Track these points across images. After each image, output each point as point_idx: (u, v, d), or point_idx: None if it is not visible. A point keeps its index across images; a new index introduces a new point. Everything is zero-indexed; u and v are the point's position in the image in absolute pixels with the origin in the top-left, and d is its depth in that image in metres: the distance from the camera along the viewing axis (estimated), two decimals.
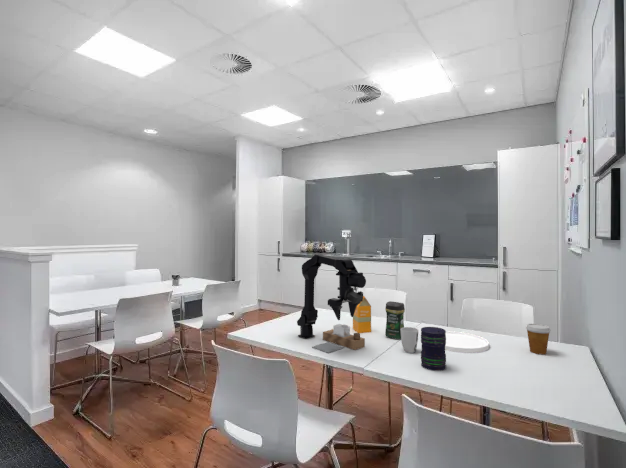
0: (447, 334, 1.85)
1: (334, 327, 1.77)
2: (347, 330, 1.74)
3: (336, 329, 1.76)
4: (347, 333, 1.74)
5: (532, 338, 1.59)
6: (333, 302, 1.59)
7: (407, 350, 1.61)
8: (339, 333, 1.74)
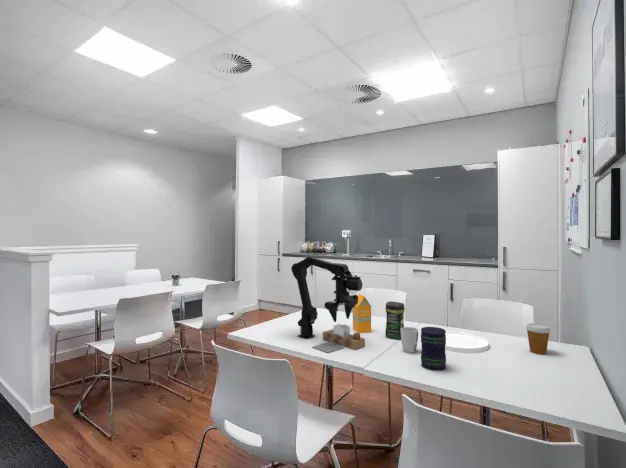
0: (447, 334, 1.85)
1: (334, 327, 1.77)
2: (347, 330, 1.74)
3: (336, 329, 1.76)
4: (347, 333, 1.74)
5: (532, 338, 1.59)
6: (330, 305, 1.69)
7: (407, 350, 1.61)
8: (339, 333, 1.74)
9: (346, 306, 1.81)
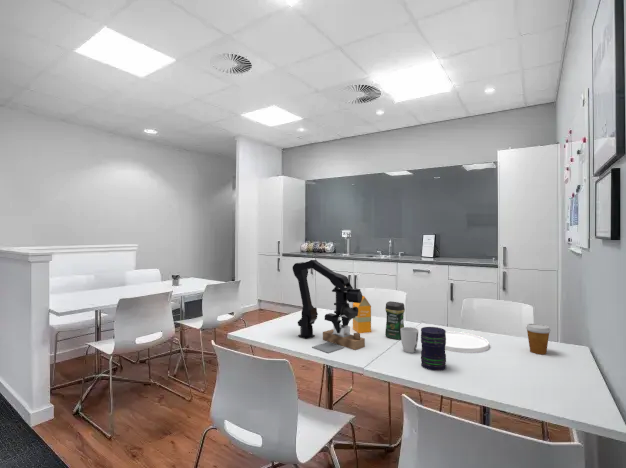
0: (447, 334, 1.85)
1: (334, 327, 1.77)
2: (347, 330, 1.74)
3: None
4: (347, 333, 1.74)
5: (532, 338, 1.59)
6: (330, 317, 1.69)
7: (407, 350, 1.61)
8: (339, 333, 1.74)
9: (343, 318, 1.79)
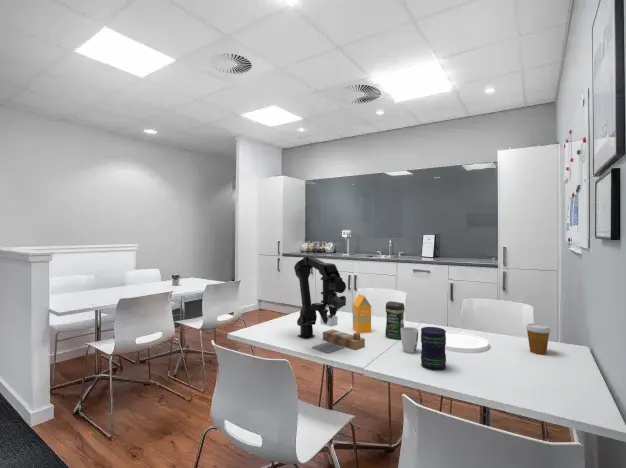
0: (447, 334, 1.85)
1: (321, 317, 1.69)
2: (334, 320, 1.67)
3: None
4: (335, 323, 1.67)
5: (532, 338, 1.59)
6: (316, 307, 1.62)
7: (407, 350, 1.61)
8: (326, 323, 1.67)
9: (331, 308, 1.72)
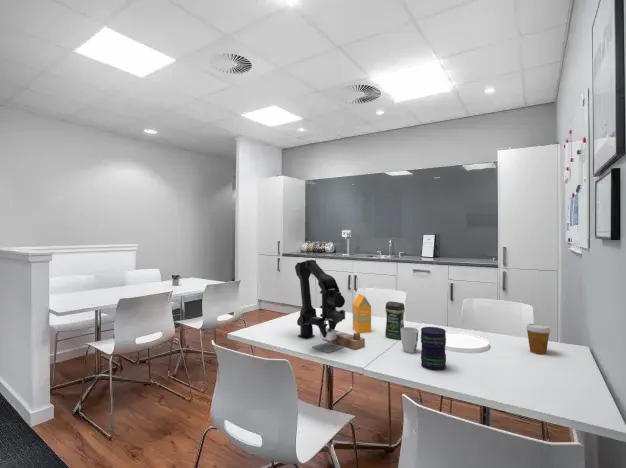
0: (447, 334, 1.85)
1: (320, 331, 1.69)
2: (334, 334, 1.66)
3: None
4: (334, 337, 1.66)
5: (532, 338, 1.59)
6: (315, 321, 1.61)
7: (407, 350, 1.61)
8: (325, 337, 1.67)
9: (330, 322, 1.71)
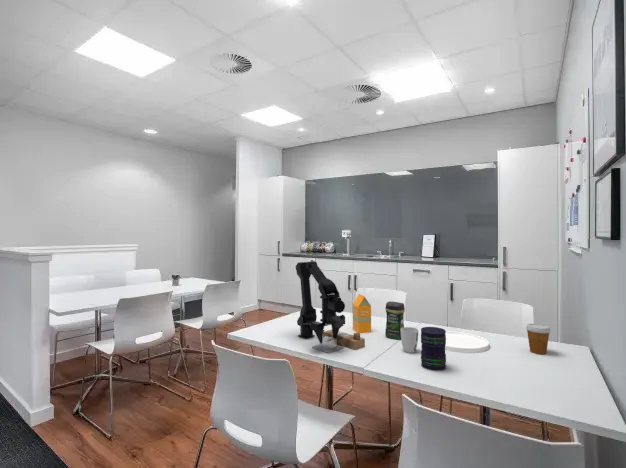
0: (447, 334, 1.85)
1: None
2: (334, 343, 1.66)
3: (322, 342, 1.68)
4: (334, 346, 1.66)
5: (532, 338, 1.59)
6: (315, 326, 1.61)
7: (407, 350, 1.61)
8: (325, 346, 1.67)
9: (333, 326, 1.73)
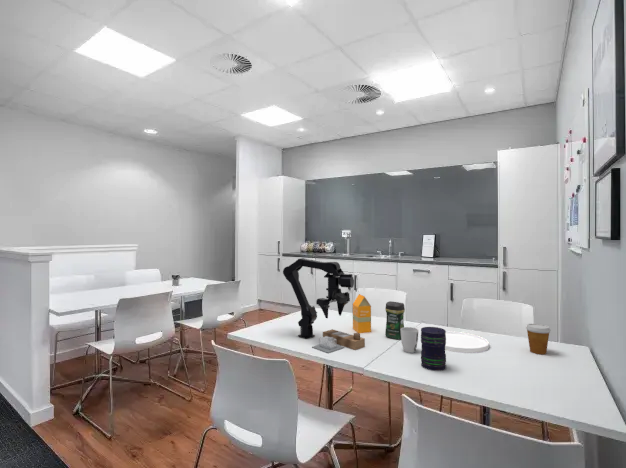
0: (447, 334, 1.85)
1: (320, 340, 1.69)
2: (334, 343, 1.66)
3: (322, 342, 1.68)
4: (334, 346, 1.66)
5: (532, 338, 1.59)
6: (321, 301, 1.74)
7: (407, 350, 1.61)
8: (325, 346, 1.67)
9: (338, 303, 1.85)
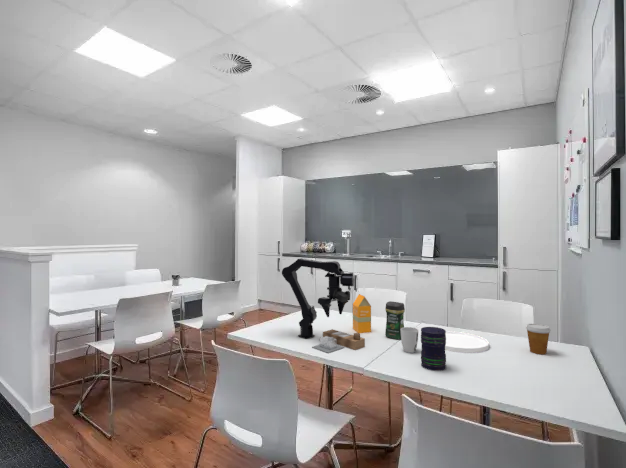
0: (447, 334, 1.85)
1: (320, 340, 1.69)
2: (334, 343, 1.66)
3: (322, 342, 1.68)
4: (334, 346, 1.66)
5: (532, 338, 1.59)
6: (323, 301, 1.76)
7: (407, 350, 1.61)
8: (325, 346, 1.67)
9: (339, 302, 1.87)
